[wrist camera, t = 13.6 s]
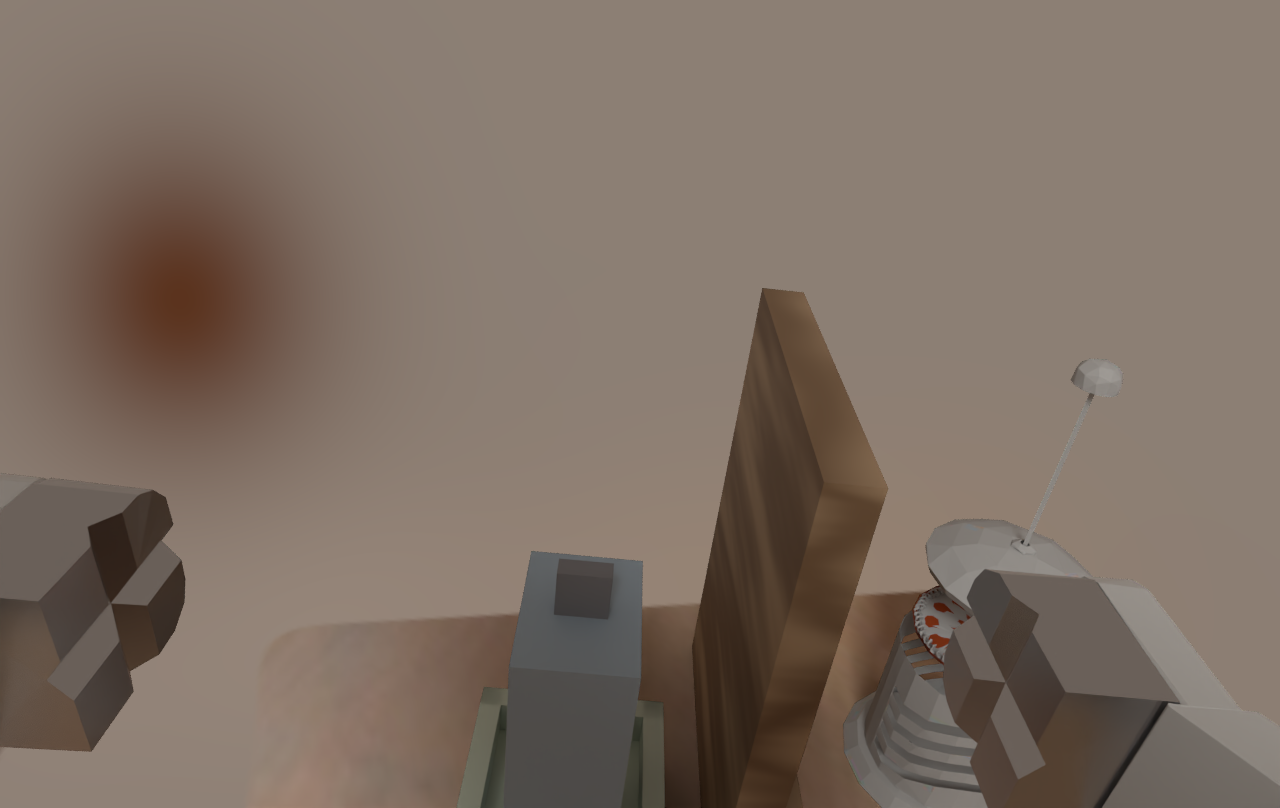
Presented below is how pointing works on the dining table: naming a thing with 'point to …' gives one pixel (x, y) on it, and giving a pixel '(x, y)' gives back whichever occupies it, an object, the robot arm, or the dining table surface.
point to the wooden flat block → (780, 561)
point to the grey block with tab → (573, 682)
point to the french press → (916, 708)
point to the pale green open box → (488, 750)
